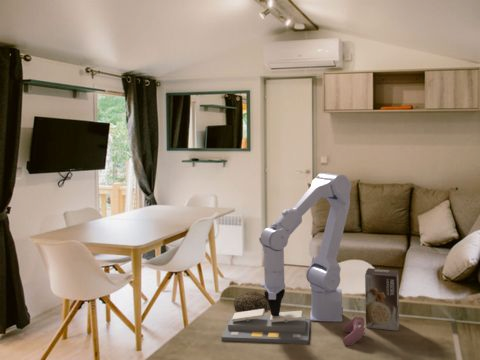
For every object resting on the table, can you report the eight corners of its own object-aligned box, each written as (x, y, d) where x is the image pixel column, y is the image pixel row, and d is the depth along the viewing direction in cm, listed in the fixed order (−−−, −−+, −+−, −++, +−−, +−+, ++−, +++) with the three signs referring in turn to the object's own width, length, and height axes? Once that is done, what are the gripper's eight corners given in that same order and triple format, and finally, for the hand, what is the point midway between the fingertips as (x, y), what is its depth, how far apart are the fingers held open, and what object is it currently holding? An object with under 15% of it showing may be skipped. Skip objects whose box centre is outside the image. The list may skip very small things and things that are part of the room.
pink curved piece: (357, 352, 139) (369, 330, 138) (341, 344, 140) (353, 322, 138) (356, 336, 149) (367, 316, 147) (341, 329, 149) (352, 308, 148)
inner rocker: (302, 314, 152) (302, 310, 152) (301, 321, 148) (301, 317, 147) (272, 317, 154) (271, 312, 154) (270, 323, 149) (269, 319, 149)
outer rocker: (265, 312, 154) (264, 308, 154) (263, 319, 149) (262, 314, 149) (235, 316, 156) (234, 312, 156) (232, 323, 151) (232, 319, 151)
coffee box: (399, 323, 153) (400, 270, 151) (397, 331, 147) (398, 276, 145) (368, 319, 157) (367, 267, 155) (364, 327, 151) (364, 273, 149)
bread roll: (230, 312, 167) (230, 297, 166) (237, 299, 179) (236, 284, 178) (270, 313, 164) (270, 298, 164) (274, 300, 177) (273, 285, 176)
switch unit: (309, 322, 156) (309, 314, 156) (308, 343, 141) (308, 335, 141) (231, 319, 160) (230, 311, 160) (221, 340, 145) (221, 331, 145)
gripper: (263, 262, 157) (264, 305, 159) (257, 277, 143) (258, 324, 145) (286, 262, 156) (287, 306, 158) (282, 277, 142) (283, 325, 144)
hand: (275, 315), depth 151 cm, fingers closed
